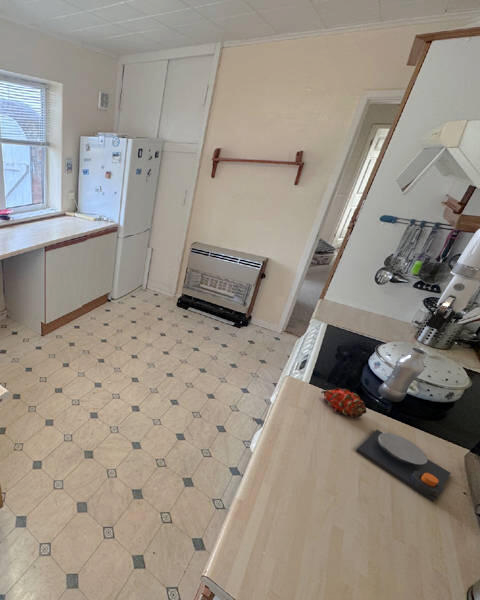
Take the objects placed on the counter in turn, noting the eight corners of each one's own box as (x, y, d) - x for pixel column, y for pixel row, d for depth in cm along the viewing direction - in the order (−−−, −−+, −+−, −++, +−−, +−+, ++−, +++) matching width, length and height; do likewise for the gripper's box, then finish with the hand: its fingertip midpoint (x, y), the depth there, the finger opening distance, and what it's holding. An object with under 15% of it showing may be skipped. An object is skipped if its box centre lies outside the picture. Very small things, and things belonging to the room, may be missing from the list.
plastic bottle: (376, 388, 116) (405, 342, 107) (401, 398, 112) (433, 352, 103) (374, 396, 112) (404, 349, 103) (400, 407, 108) (433, 360, 99)
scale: (448, 478, 85) (455, 469, 83) (431, 505, 78) (440, 496, 76) (373, 433, 97) (379, 425, 95) (354, 453, 90) (359, 444, 88)
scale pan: (430, 456, 86) (432, 454, 86) (419, 472, 81) (420, 470, 81) (385, 429, 94) (386, 427, 93) (371, 443, 89) (373, 441, 88)
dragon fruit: (360, 428, 100) (316, 409, 109) (371, 406, 102) (327, 389, 111) (362, 417, 95) (315, 397, 104) (373, 394, 97) (326, 377, 106)
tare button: (436, 484, 79) (440, 479, 78) (432, 489, 78) (437, 484, 77) (422, 475, 81) (426, 470, 80) (418, 480, 80) (422, 475, 79)
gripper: (484, 281, 84) (445, 337, 92) (497, 272, 93) (461, 324, 100) (445, 271, 90) (411, 324, 97) (460, 263, 98) (429, 313, 106)
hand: (436, 324), depth 99 cm, fingers open, 8 cm apart
